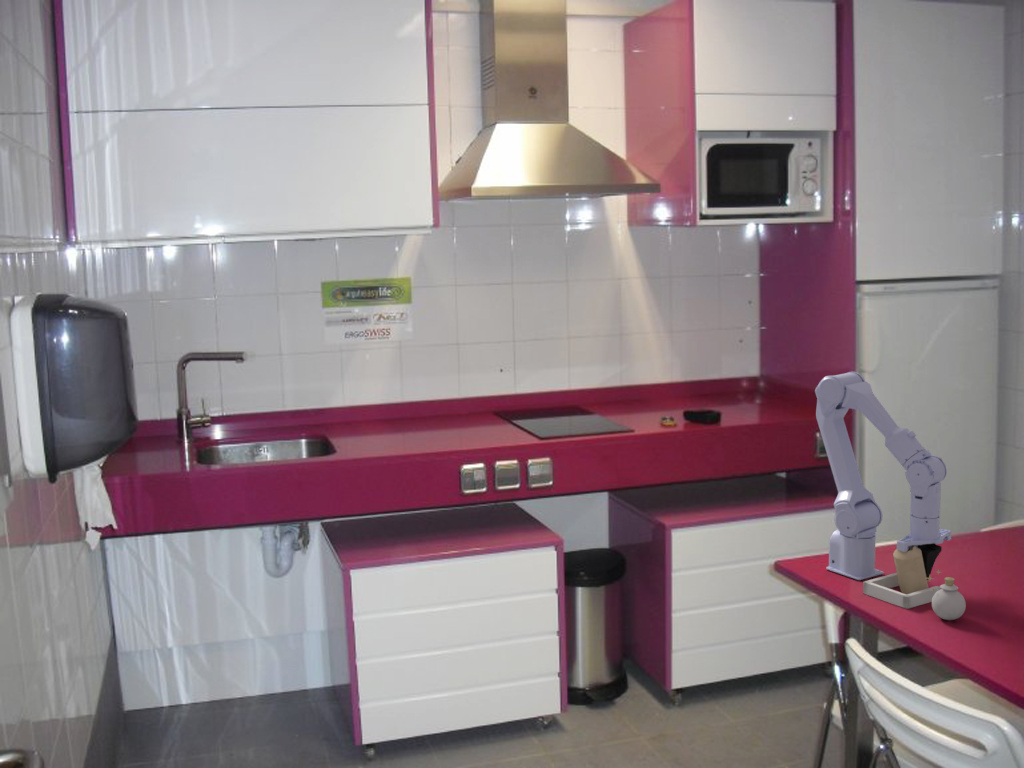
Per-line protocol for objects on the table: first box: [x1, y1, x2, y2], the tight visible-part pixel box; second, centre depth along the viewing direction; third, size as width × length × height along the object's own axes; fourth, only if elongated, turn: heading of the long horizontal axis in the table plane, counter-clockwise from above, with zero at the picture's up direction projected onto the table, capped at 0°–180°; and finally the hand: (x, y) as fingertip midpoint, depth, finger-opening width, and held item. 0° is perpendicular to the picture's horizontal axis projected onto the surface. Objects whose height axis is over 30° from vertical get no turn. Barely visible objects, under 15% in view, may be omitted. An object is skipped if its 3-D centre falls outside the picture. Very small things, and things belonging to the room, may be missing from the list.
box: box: [862, 572, 942, 610], centre depth 214 cm, size 11×10×2 cm
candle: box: [892, 545, 929, 595], centre depth 214 cm, size 6×6×10 cm
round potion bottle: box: [926, 568, 967, 621], centre depth 200 cm, size 6×7×10 cm
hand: (923, 578), depth 217 cm, fingers closed
